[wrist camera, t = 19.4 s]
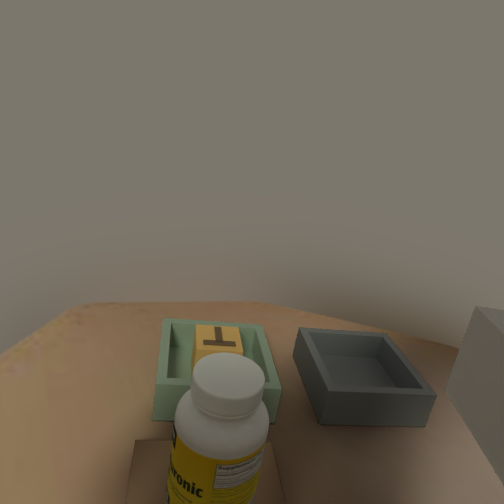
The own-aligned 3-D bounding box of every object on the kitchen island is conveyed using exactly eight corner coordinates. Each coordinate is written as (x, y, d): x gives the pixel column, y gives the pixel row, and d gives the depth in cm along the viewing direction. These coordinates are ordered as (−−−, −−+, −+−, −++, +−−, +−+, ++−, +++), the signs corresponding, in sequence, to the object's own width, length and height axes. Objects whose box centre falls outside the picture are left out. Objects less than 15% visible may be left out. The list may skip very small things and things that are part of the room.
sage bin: (256, 353, 44) (261, 324, 43) (274, 423, 35) (281, 389, 33) (160, 348, 42) (163, 317, 41) (152, 420, 33) (155, 384, 32)
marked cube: (232, 362, 40) (238, 325, 39) (236, 390, 37) (243, 350, 35) (190, 360, 40) (195, 322, 38) (191, 388, 36) (196, 347, 34)
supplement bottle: (154, 479, 27) (167, 350, 24) (230, 458, 29) (252, 339, 26) (179, 561, 22) (200, 416, 19) (266, 528, 25) (298, 395, 22)
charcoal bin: (378, 360, 47) (386, 333, 45) (424, 426, 37) (436, 395, 36) (292, 355, 45) (299, 327, 43) (319, 424, 35) (328, 391, 34)
